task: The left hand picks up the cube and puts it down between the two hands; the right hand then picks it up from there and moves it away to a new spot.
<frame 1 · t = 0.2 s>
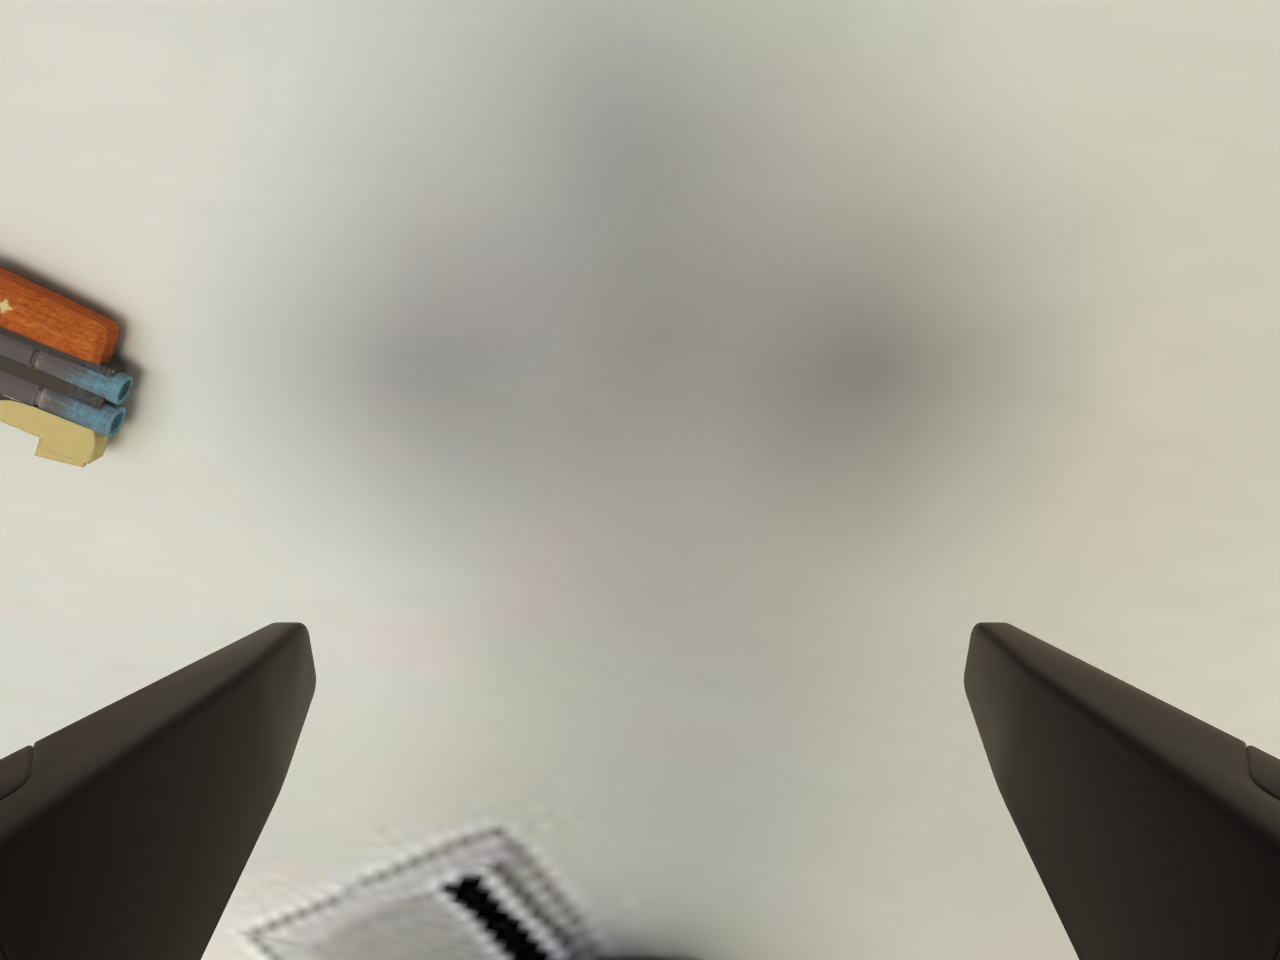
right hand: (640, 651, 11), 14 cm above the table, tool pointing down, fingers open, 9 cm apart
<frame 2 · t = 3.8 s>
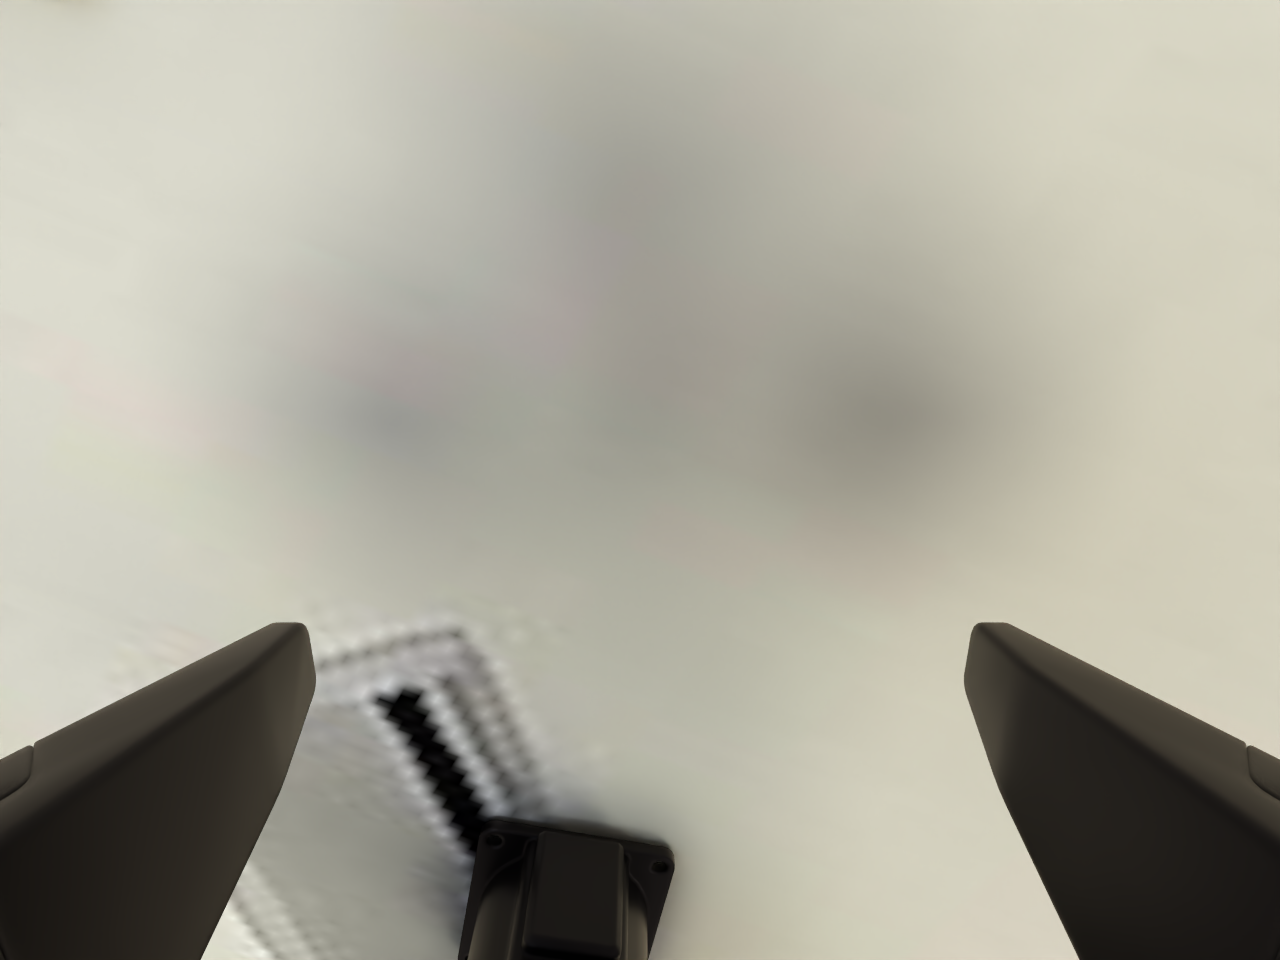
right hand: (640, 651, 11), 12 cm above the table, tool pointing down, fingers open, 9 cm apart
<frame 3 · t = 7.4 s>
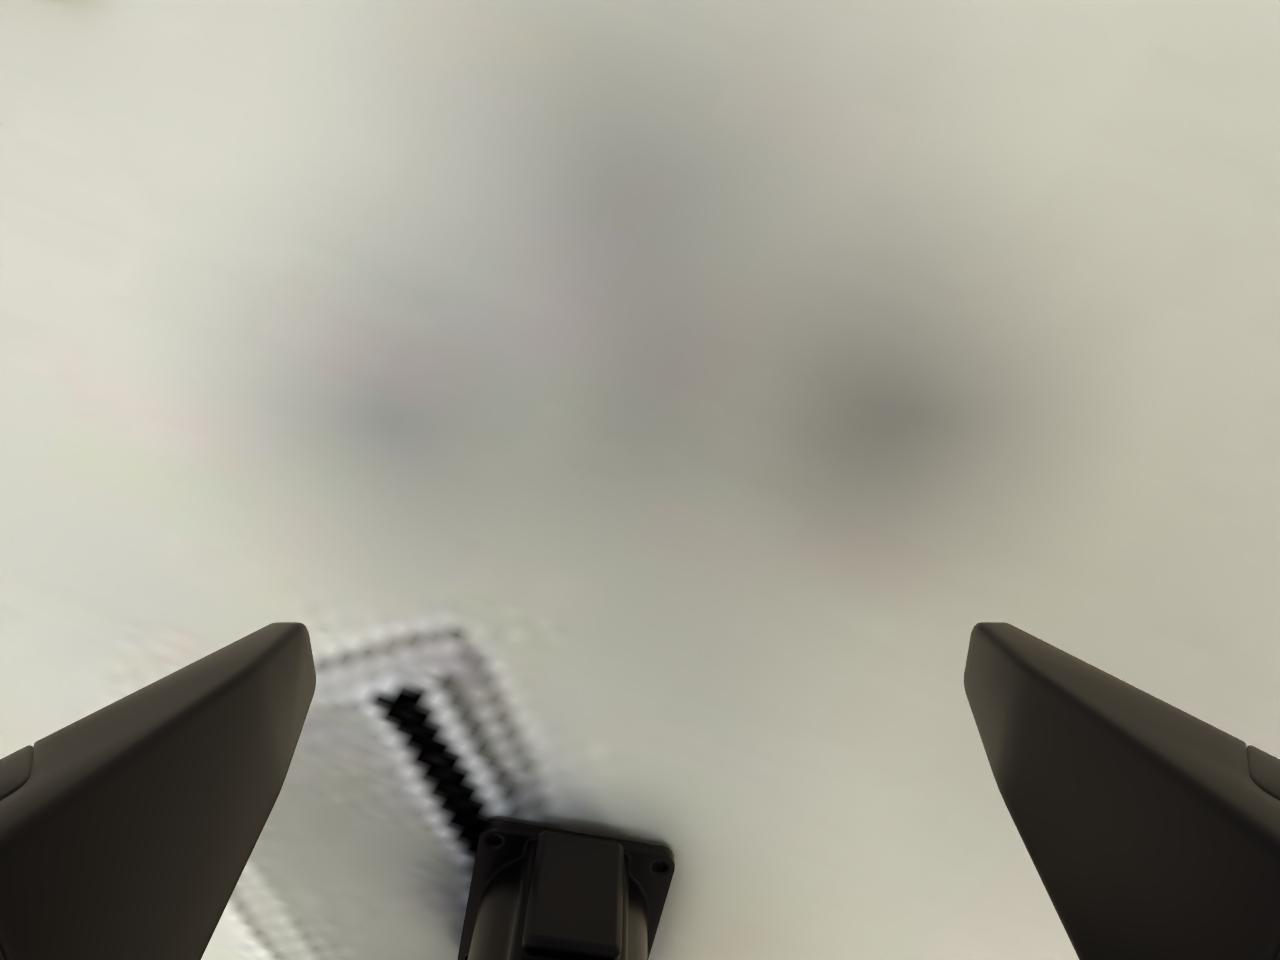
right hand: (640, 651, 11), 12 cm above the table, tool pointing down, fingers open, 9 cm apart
when the left hand's fingers open (2 cm above the table, at t = 11.0 s): cube stays where it is, on the table.
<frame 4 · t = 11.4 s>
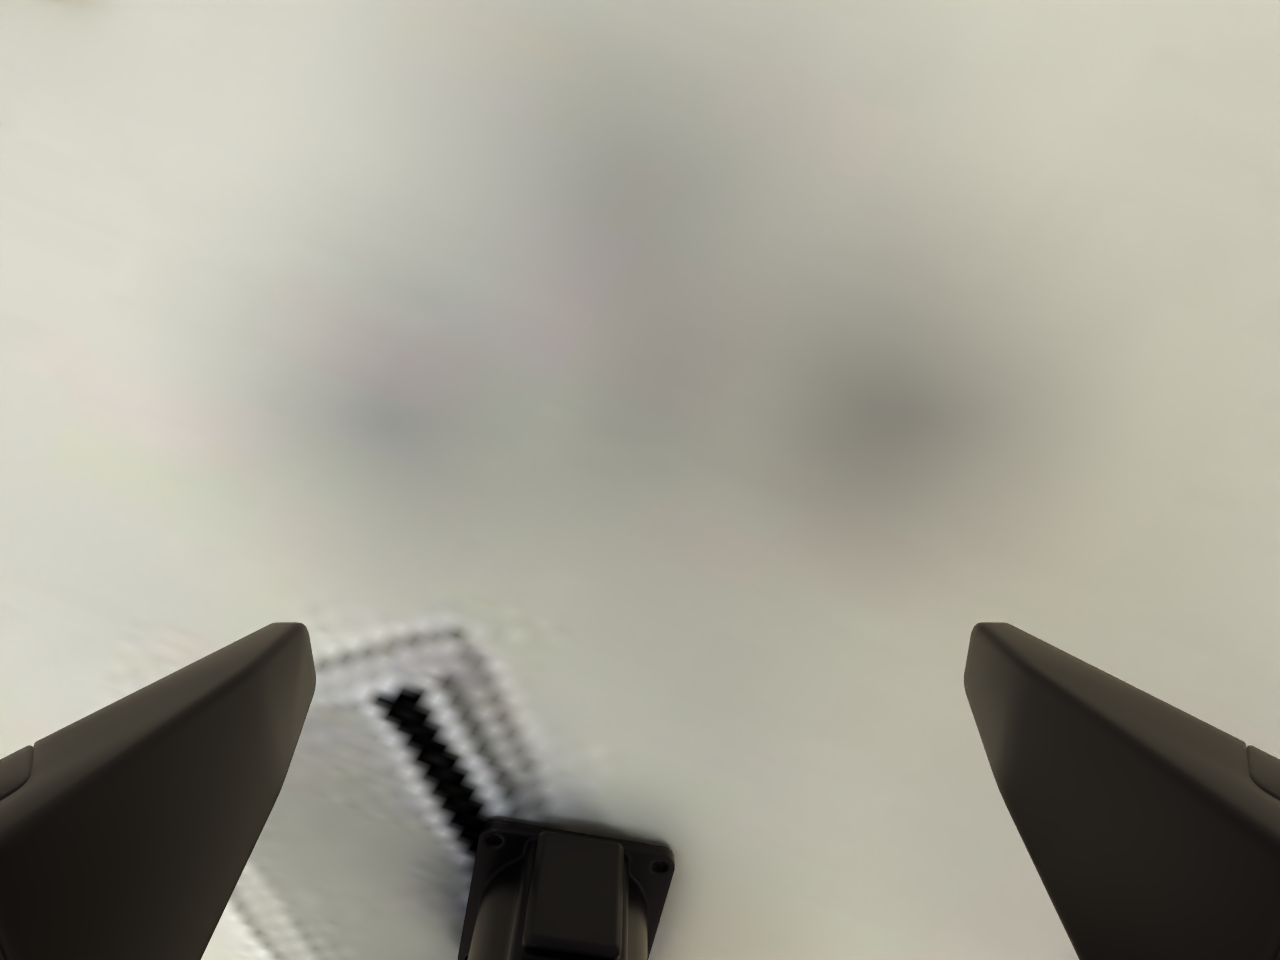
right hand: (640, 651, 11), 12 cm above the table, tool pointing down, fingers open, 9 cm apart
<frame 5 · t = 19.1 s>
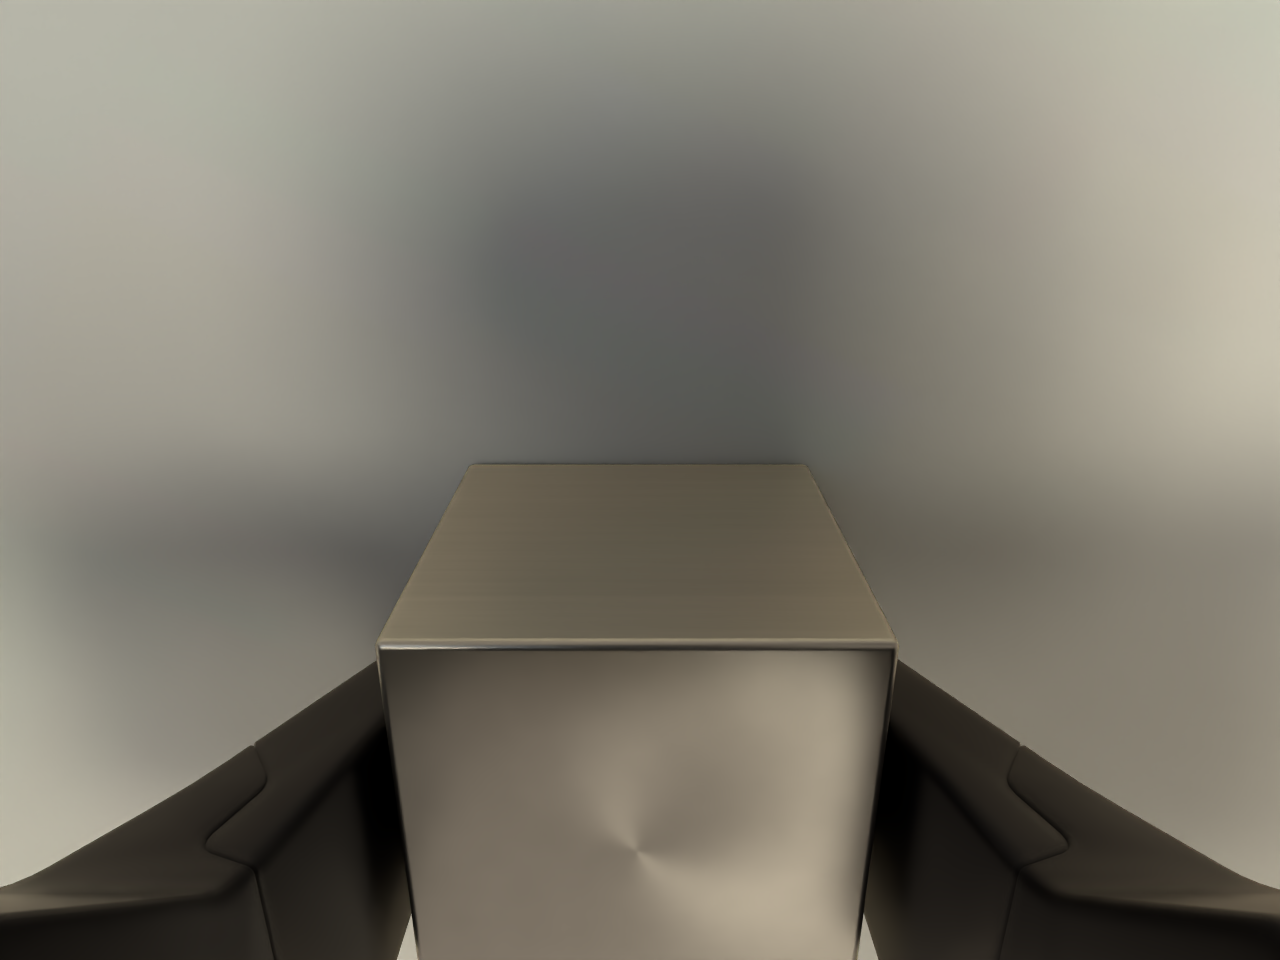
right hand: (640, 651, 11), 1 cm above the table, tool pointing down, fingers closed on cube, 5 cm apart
cube: (638, 613, 12), on the table, touching right hand
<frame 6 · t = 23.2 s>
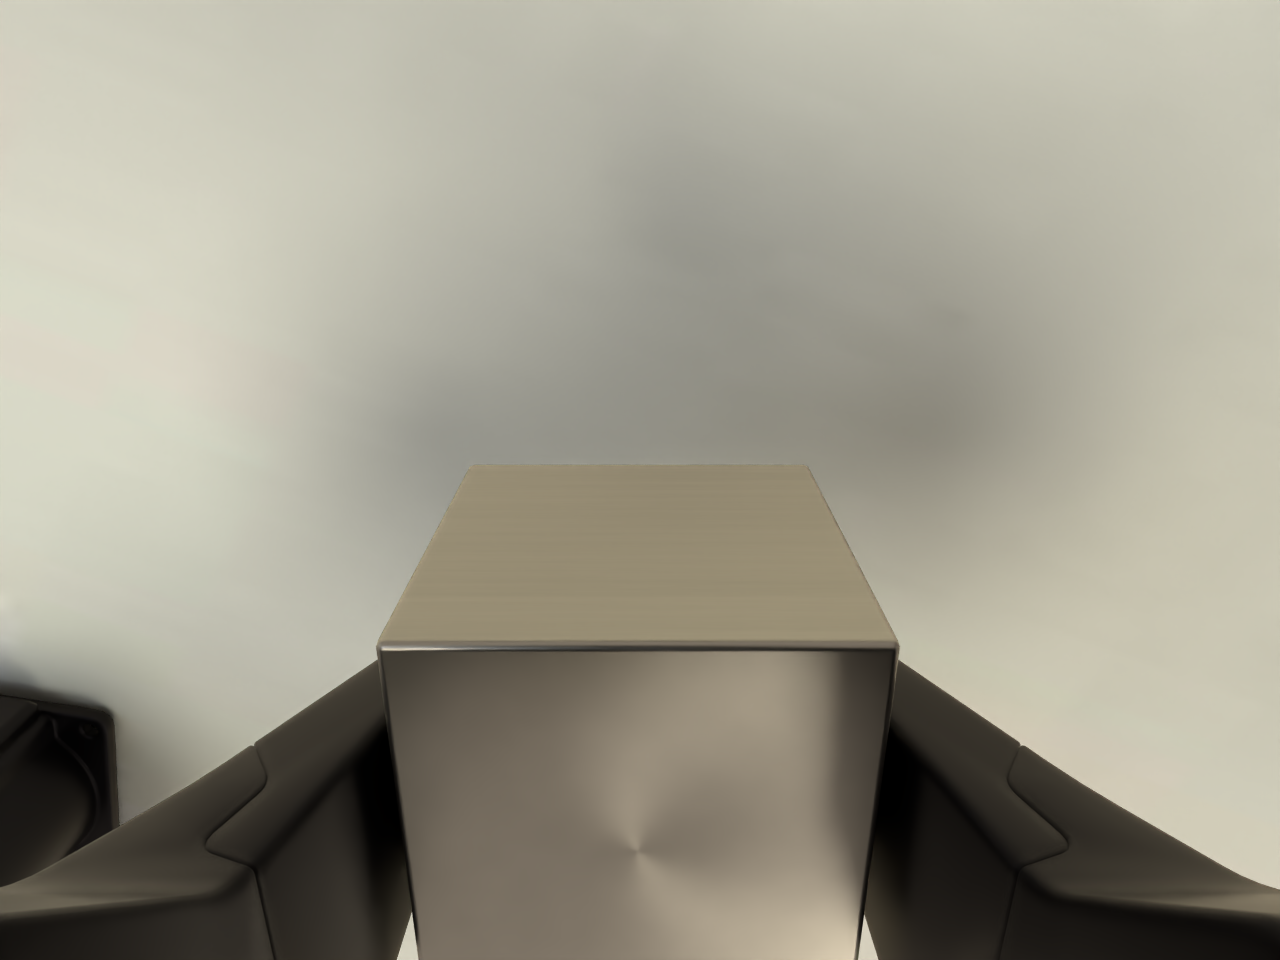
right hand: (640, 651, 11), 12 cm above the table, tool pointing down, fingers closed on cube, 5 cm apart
cube: (638, 613, 12), point 11 cm above the table, touching right hand
when the right hand's fingers open (2 cm above the table, at t = 27.7 s): cube stays where it is, on the table.
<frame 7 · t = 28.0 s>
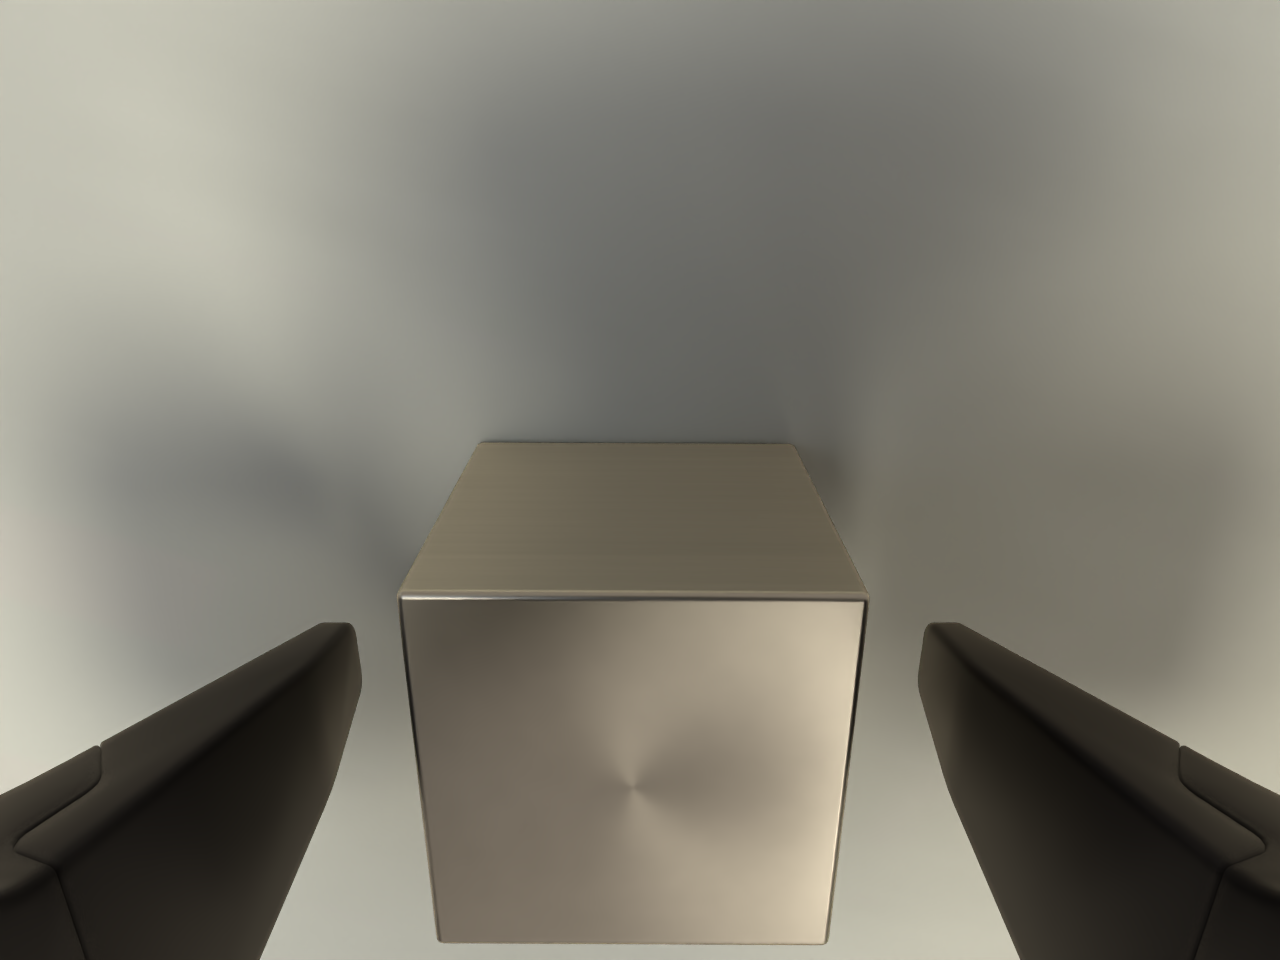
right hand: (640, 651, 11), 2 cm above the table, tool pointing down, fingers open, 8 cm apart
cube: (635, 584, 13), on the table
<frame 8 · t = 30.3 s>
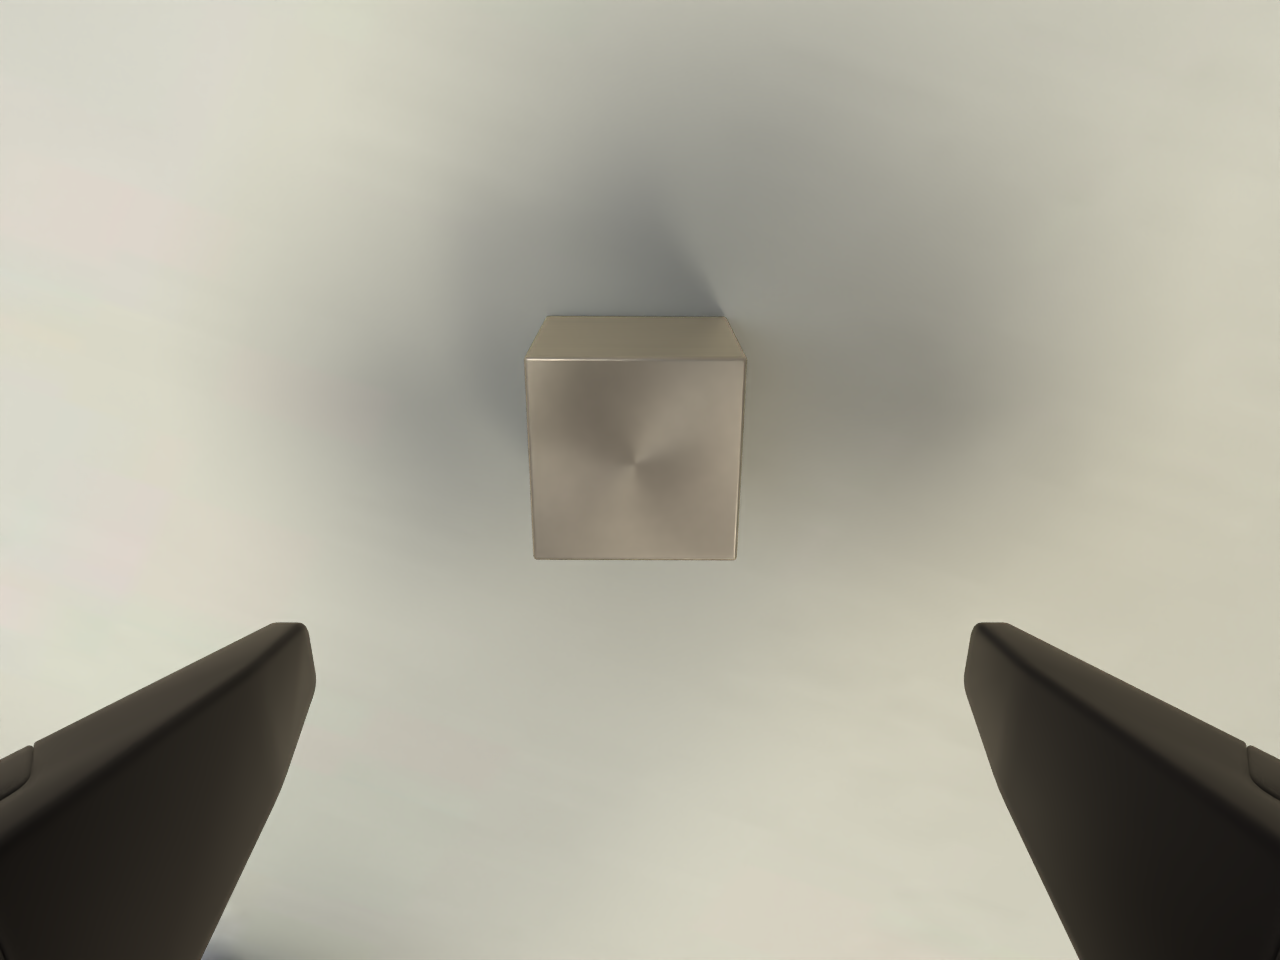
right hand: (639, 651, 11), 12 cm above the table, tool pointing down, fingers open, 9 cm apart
cube: (636, 404, 23), on the table
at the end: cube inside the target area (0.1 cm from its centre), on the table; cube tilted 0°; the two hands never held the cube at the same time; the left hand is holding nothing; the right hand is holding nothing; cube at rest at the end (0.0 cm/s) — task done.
